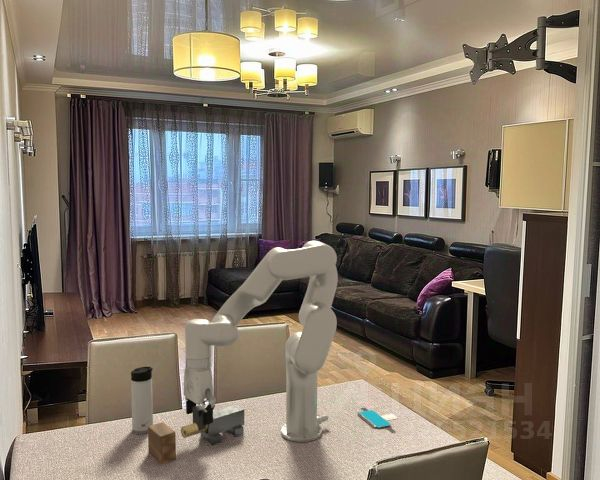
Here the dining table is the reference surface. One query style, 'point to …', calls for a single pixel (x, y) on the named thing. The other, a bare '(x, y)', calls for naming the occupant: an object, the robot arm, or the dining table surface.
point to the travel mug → (141, 399)
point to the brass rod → (195, 423)
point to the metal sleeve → (225, 424)
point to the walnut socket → (162, 443)
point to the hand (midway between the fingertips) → (199, 418)
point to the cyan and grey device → (376, 419)
